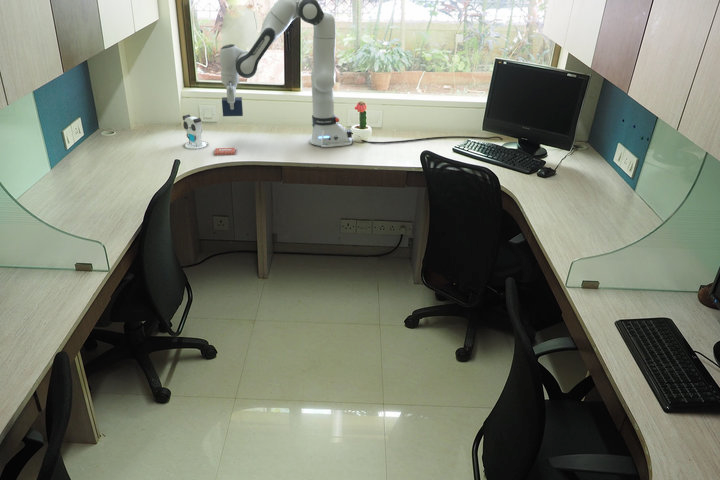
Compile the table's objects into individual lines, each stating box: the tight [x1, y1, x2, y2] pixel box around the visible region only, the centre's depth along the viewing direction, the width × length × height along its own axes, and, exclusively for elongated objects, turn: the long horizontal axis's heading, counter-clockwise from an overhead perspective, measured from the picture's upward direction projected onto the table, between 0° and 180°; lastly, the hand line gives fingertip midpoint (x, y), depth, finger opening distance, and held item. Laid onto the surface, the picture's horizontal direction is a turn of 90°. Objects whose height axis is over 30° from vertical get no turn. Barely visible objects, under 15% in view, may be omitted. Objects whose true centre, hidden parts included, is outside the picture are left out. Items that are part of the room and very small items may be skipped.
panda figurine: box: [182, 114, 208, 150], centre depth 322 cm, size 12×11×15 cm
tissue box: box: [221, 96, 244, 117], centre depth 316 cm, size 10×6×9 cm, turn 97°
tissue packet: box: [214, 147, 236, 156], centre depth 316 cm, size 10×7×1 cm
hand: (232, 107), depth 316 cm, fingers closed on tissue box, 6 cm apart
